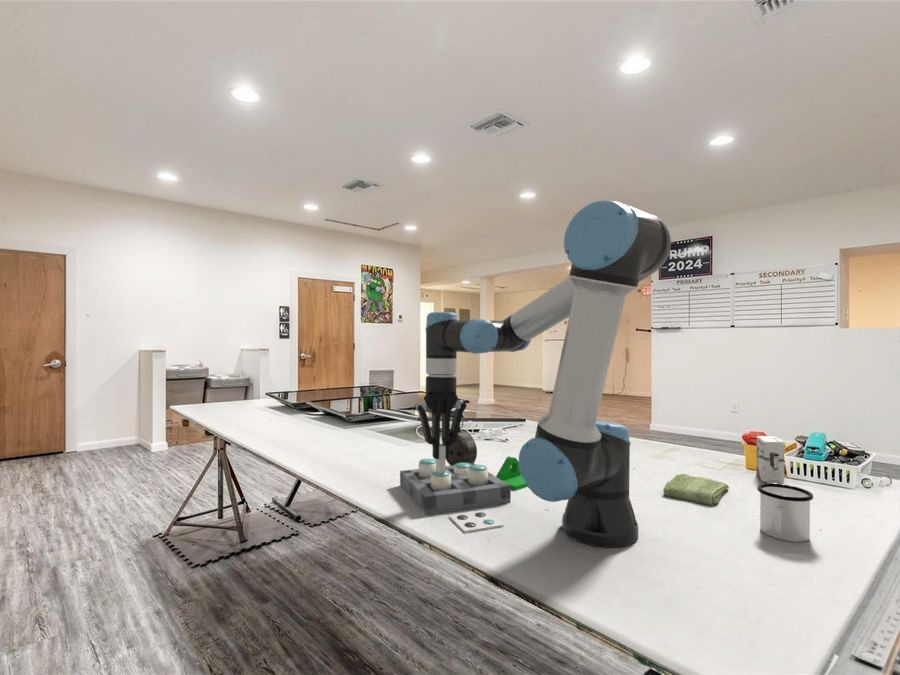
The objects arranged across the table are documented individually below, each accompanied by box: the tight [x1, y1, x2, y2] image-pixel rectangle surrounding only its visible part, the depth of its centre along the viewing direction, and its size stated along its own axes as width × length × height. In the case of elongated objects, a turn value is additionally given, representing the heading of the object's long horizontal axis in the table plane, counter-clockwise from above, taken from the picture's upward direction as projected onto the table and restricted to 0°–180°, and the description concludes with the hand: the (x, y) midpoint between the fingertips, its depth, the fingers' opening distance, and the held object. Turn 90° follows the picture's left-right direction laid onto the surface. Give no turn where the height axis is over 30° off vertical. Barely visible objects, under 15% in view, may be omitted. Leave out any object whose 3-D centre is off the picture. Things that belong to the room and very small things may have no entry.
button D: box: [454, 463, 471, 476], centre depth 128 cm, size 5×5×4 cm
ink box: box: [756, 435, 785, 485], centre depth 134 cm, size 9×5×12 cm, turn 161°
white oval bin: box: [756, 483, 814, 543], centre depth 96 cm, size 12×10×9 cm
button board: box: [399, 462, 512, 515], centre depth 122 cm, size 22×22×4 cm
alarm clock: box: [445, 418, 478, 466], centre depth 142 cm, size 11×5×16 cm, turn 45°
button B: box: [418, 458, 436, 479], centre depth 124 cm, size 5×5×4 cm
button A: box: [431, 470, 451, 492], centre depth 115 cm, size 5×5×4 cm
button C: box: [468, 464, 489, 487], centre depth 119 cm, size 5×5×4 cm
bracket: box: [495, 455, 528, 491], centre depth 131 cm, size 12×8×7 cm, turn 132°
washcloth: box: [662, 473, 729, 506], centre depth 123 cm, size 13×18×3 cm
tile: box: [448, 509, 504, 534], centre depth 103 cm, size 9×9×1 cm
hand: (440, 471), depth 115 cm, fingers closed
